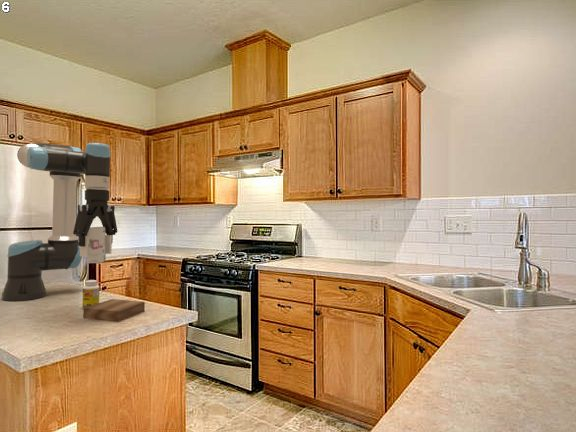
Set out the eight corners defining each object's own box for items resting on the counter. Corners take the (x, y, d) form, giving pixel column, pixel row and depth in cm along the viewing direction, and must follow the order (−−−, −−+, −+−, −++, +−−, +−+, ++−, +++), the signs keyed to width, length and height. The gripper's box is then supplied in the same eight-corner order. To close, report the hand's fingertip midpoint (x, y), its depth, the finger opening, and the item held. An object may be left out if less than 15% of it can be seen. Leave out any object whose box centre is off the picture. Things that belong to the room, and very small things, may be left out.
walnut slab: (83, 319, 128) (83, 307, 128) (112, 309, 141) (112, 299, 141) (118, 323, 124) (118, 311, 124) (144, 312, 138) (144, 301, 138)
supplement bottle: (79, 308, 140) (79, 281, 140) (93, 305, 145) (93, 279, 145) (88, 310, 137) (88, 282, 137) (102, 307, 142) (102, 280, 142)
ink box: (90, 260, 131) (90, 226, 131) (105, 259, 132) (106, 226, 132) (85, 263, 123) (86, 227, 122) (102, 263, 124) (103, 227, 124)
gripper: (79, 186, 116) (78, 259, 116) (129, 191, 137) (128, 252, 137) (60, 186, 118) (59, 257, 118) (112, 191, 139) (111, 251, 139)
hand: (96, 254), depth 127 cm, fingers closed on ink box, 9 cm apart
